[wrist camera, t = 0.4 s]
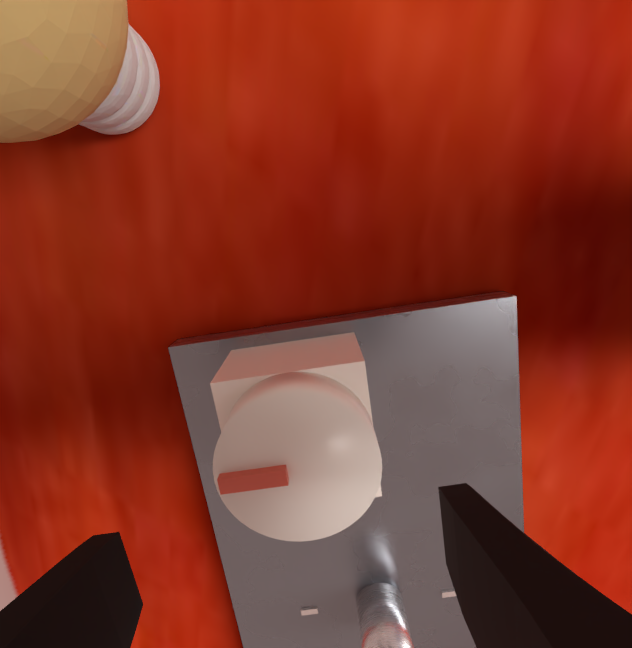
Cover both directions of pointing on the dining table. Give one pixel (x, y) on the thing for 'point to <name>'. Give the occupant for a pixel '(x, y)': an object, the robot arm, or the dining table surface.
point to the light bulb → (72, 69)
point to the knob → (296, 437)
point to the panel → (396, 482)
